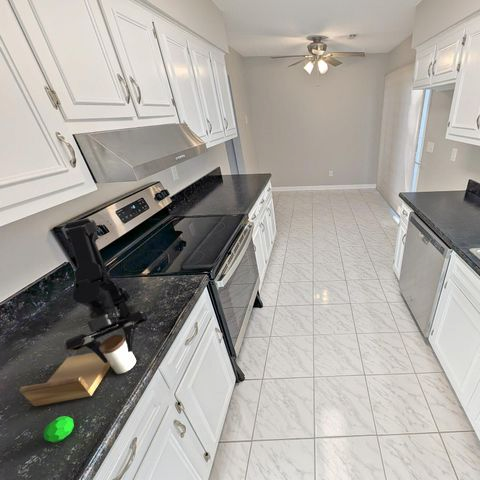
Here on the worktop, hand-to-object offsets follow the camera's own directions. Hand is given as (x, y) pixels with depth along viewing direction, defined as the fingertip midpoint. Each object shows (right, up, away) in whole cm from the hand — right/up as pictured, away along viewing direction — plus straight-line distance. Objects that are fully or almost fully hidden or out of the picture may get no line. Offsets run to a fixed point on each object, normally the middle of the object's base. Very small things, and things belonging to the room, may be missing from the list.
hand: (118, 357), depth 74 cm
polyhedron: (-3, -13, -13) cm, 18 cm away
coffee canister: (0, -4, +3) cm, 5 cm away
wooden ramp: (-12, -6, +1) cm, 13 cm away
